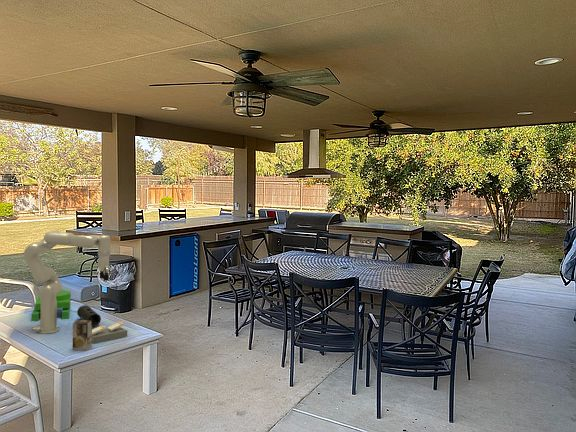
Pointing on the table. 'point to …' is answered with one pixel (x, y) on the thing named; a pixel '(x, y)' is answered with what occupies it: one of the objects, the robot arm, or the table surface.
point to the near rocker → (98, 329)
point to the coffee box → (82, 335)
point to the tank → (62, 302)
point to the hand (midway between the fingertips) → (104, 279)
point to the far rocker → (115, 326)
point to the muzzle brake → (89, 315)
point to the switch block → (108, 335)
